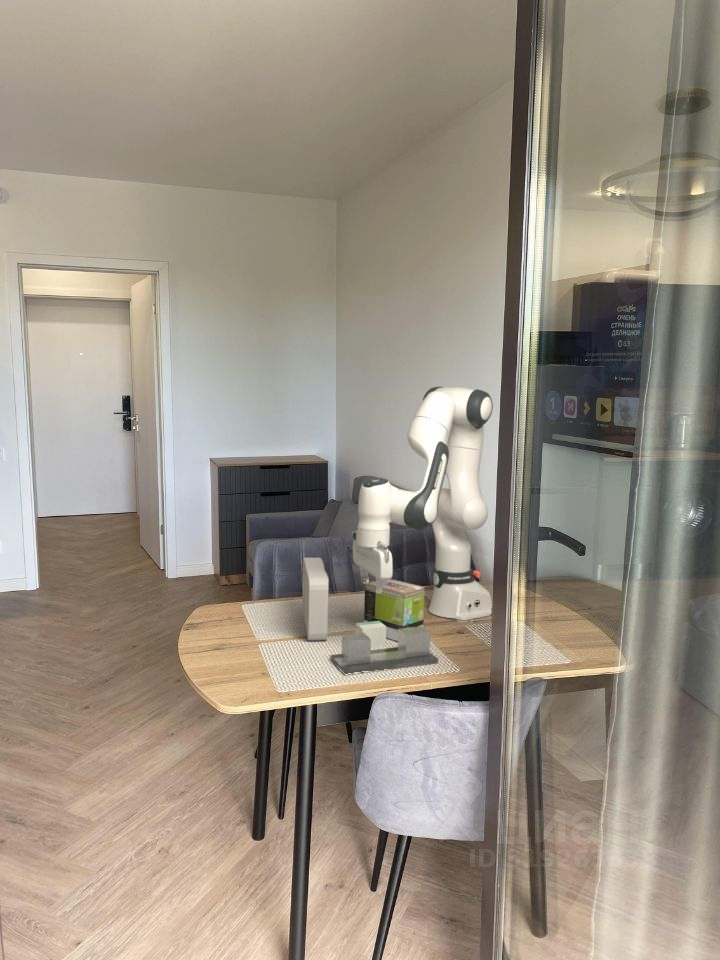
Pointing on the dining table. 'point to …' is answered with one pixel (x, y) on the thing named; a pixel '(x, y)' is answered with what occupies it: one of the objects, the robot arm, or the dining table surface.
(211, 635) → the dining table surface
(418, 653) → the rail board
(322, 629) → the rounded white slab
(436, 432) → the robot arm
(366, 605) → the tea box
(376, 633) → the block
